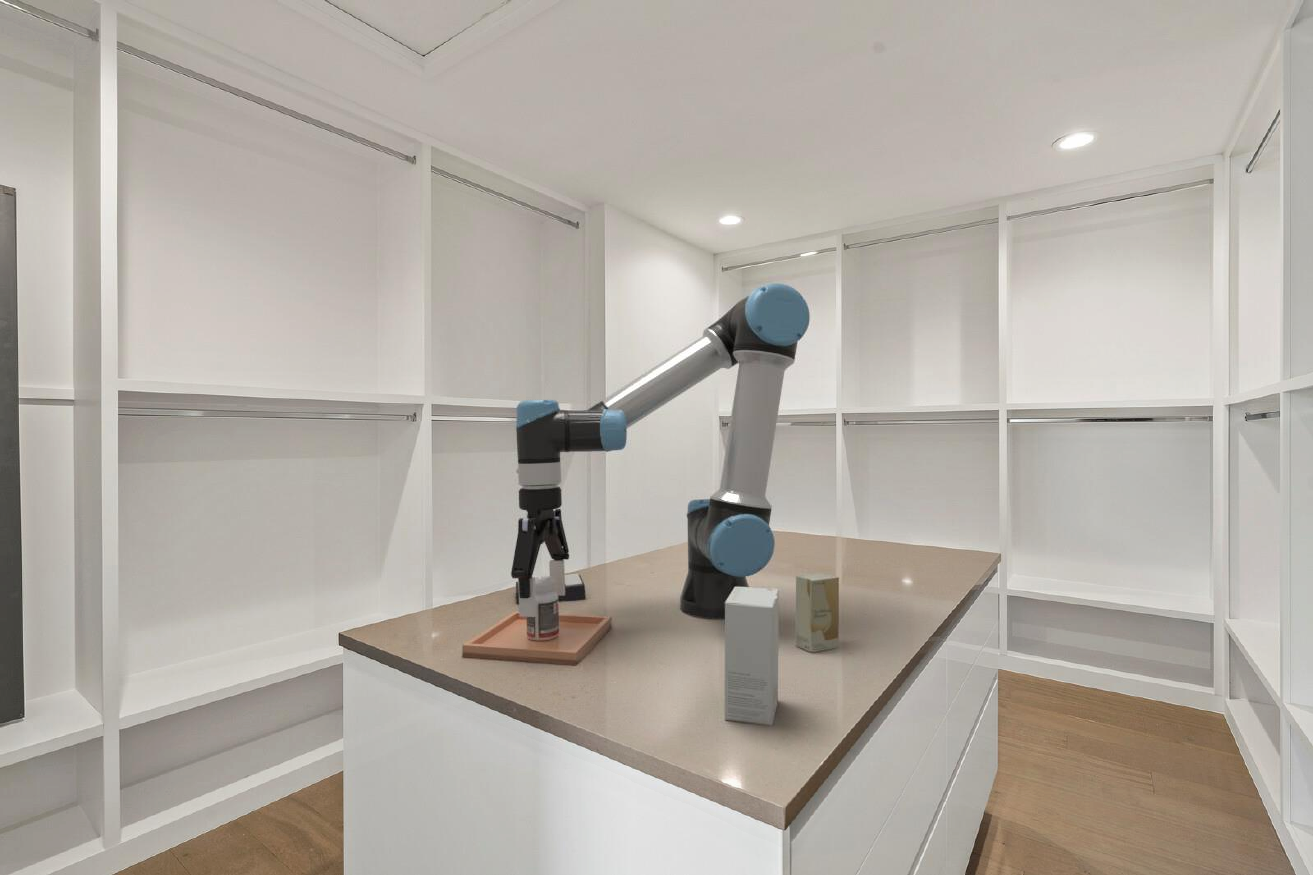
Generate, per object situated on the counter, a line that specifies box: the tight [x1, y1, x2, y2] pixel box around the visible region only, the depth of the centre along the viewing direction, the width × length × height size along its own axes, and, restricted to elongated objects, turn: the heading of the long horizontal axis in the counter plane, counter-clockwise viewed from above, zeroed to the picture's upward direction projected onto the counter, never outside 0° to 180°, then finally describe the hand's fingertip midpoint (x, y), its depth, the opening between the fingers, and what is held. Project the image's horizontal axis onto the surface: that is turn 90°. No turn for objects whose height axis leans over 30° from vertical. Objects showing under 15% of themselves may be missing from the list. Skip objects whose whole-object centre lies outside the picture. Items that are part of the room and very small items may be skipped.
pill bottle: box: [526, 577, 560, 641], centre depth 114 cm, size 6×6×10 cm
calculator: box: [515, 573, 586, 606], centre depth 145 cm, size 11×4×15 cm
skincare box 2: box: [795, 572, 840, 653], centre depth 109 cm, size 6×4×12 cm
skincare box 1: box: [724, 586, 780, 726], centre depth 85 cm, size 8×7×16 cm
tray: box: [461, 610, 613, 666], centre depth 114 cm, size 20×20×2 cm
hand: (543, 605), depth 114 cm, fingers open, 13 cm apart
